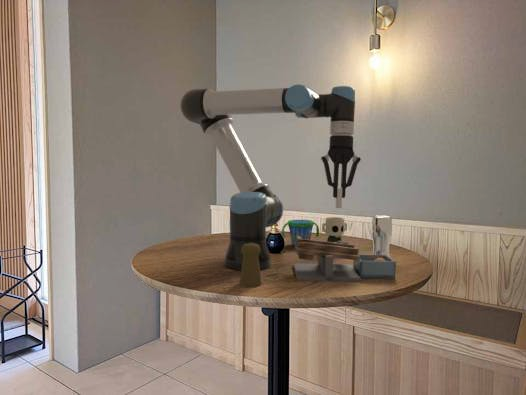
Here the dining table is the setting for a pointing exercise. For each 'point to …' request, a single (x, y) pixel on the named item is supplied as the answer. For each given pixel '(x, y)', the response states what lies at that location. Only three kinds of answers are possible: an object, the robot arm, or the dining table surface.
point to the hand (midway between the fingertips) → (338, 207)
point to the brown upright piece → (250, 265)
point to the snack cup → (300, 229)
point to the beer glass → (381, 234)
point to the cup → (375, 267)
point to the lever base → (325, 271)
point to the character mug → (334, 228)
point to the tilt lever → (325, 249)
